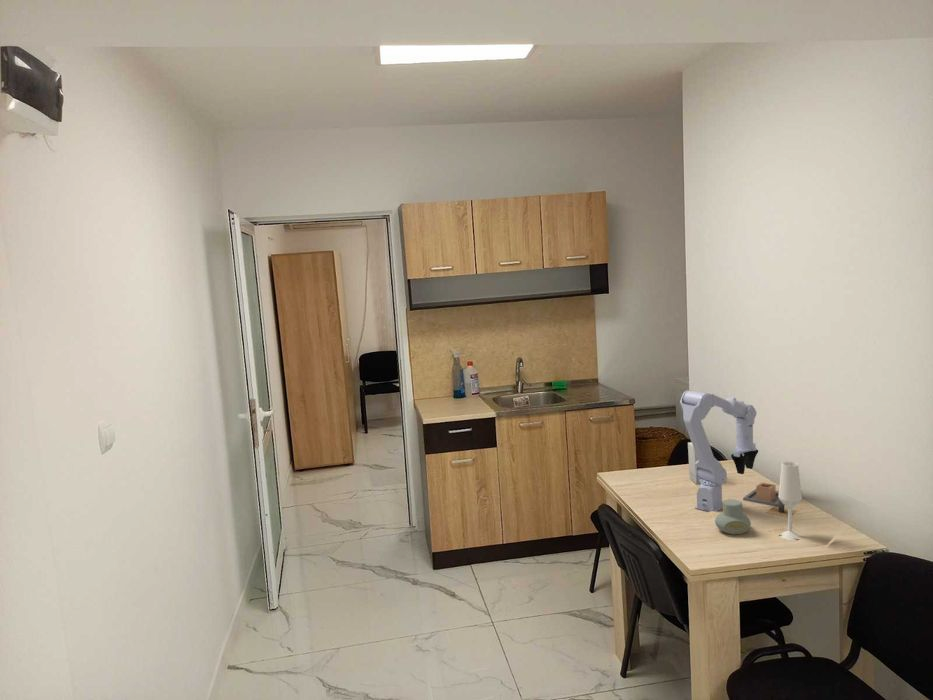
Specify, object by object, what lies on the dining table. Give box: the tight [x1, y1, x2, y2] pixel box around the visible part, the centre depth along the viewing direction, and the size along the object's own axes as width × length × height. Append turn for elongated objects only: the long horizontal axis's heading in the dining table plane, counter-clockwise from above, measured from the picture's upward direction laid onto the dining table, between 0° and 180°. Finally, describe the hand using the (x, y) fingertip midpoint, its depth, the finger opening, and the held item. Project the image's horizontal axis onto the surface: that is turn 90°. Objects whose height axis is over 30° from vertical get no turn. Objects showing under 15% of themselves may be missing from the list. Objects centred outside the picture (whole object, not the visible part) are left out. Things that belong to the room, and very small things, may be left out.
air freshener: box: [714, 498, 751, 536], centre depth 219 cm, size 11×8×10 cm
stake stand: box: [765, 501, 798, 519], centre depth 232 cm, size 8×8×4 cm
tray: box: [742, 488, 780, 507], centre depth 245 cm, size 12×12×2 cm
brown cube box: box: [755, 482, 777, 502], centre depth 245 cm, size 5×6×5 cm
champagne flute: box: [778, 461, 803, 542], centre depth 211 cm, size 7×7×24 cm
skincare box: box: [687, 441, 701, 485], centre depth 269 cm, size 8×7×16 cm
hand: (745, 470), depth 249 cm, fingers open, 7 cm apart
